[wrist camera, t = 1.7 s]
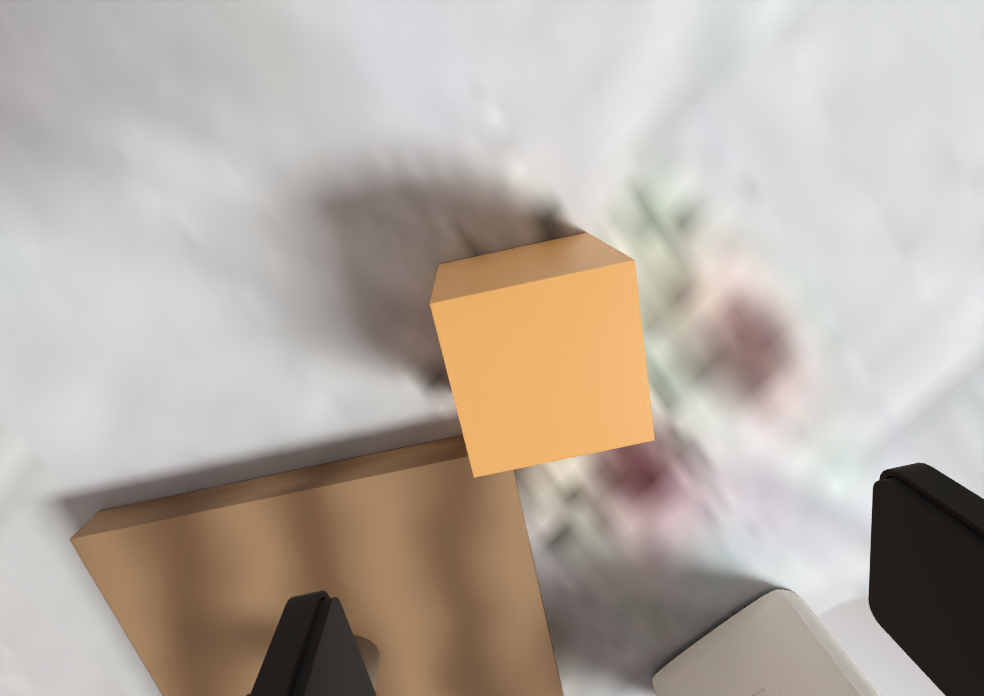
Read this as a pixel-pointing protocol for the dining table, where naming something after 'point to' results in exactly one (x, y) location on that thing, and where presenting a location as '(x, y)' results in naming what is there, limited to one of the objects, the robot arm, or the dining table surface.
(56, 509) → the dining table surface
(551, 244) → the solid orange cube
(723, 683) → the photo printer
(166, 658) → the board
